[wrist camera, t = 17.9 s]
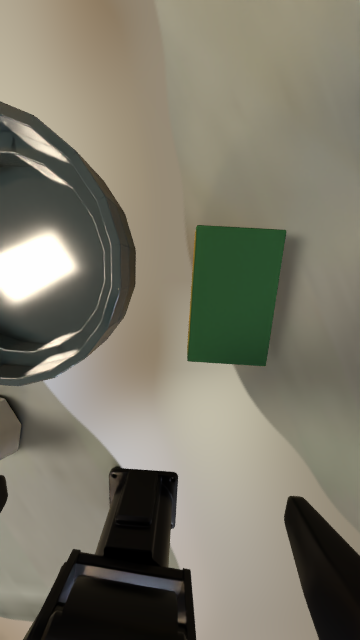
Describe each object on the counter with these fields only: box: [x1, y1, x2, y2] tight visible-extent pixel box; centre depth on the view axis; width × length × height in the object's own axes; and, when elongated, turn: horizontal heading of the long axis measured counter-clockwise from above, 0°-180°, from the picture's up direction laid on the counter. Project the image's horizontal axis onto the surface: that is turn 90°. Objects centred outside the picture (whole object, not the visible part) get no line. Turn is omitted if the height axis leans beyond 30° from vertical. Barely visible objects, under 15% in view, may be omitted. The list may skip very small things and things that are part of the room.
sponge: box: [187, 225, 286, 366], centre depth 16 cm, size 9×6×3 cm, turn 177°
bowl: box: [0, 102, 136, 386], centre depth 15 cm, size 16×16×4 cm
